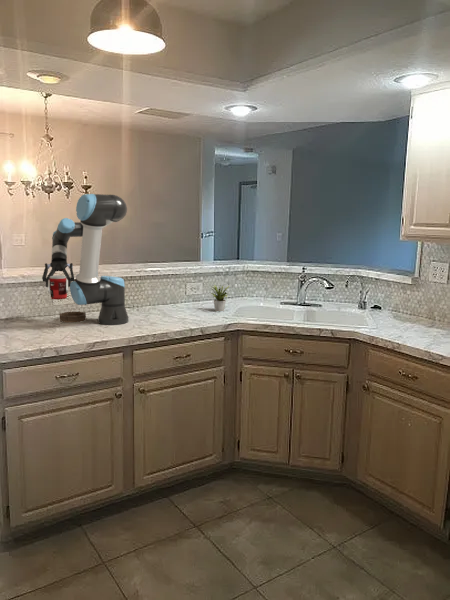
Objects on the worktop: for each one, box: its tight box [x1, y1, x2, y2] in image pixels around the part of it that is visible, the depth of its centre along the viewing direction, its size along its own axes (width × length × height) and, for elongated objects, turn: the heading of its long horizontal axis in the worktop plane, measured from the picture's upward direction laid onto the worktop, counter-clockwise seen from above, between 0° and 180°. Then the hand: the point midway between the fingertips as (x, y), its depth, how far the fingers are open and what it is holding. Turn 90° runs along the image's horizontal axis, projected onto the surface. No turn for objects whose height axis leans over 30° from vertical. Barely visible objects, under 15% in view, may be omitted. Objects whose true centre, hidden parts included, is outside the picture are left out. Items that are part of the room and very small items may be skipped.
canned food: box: [49, 275, 68, 300], centre depth 252 cm, size 8×8×11 cm
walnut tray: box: [59, 311, 87, 324], centre depth 259 cm, size 13×13×3 cm
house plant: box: [209, 284, 230, 312], centre depth 287 cm, size 14×14×16 cm
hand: (58, 291), depth 249 cm, fingers closed on canned food, 8 cm apart
